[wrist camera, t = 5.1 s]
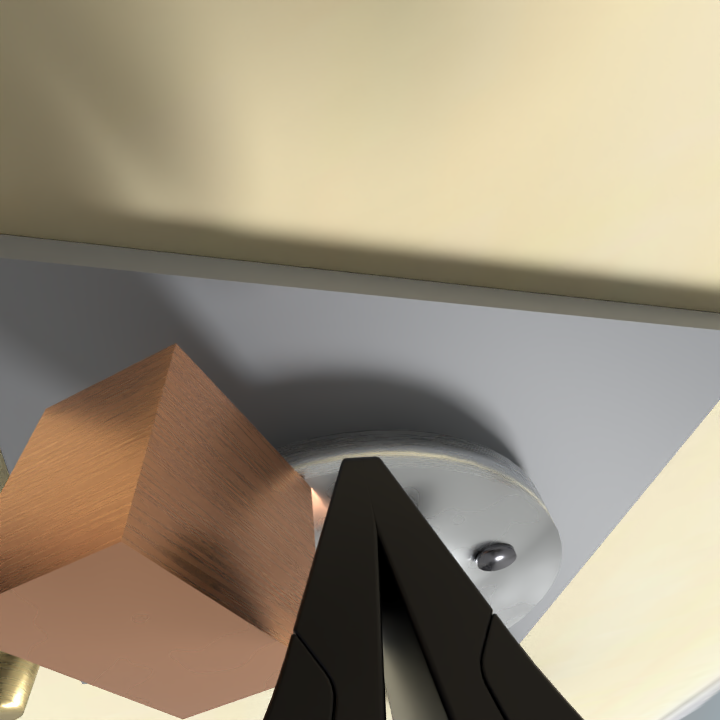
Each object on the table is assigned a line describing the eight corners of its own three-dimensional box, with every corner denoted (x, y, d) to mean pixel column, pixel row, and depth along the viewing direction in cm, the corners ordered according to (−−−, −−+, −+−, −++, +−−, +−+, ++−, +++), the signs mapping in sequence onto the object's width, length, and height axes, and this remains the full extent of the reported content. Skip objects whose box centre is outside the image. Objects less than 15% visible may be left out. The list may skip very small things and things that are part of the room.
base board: (502, 635, 26) (513, 666, 25) (89, 658, 22) (78, 697, 21) (745, 316, 14) (787, 346, 13) (-42, 229, 10) (-84, 263, 9)
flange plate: (574, 579, 20) (655, 742, 15) (288, 678, 22) (291, 844, 18) (413, 187, 9) (528, 365, 5) (-105, 456, 11) (-326, 735, 7)
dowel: (95, 524, 16) (30, 721, 12) (41, 524, 16) (-47, 727, 12) (89, 493, 15) (15, 695, 11) (31, 492, 15) (-68, 700, 11)
